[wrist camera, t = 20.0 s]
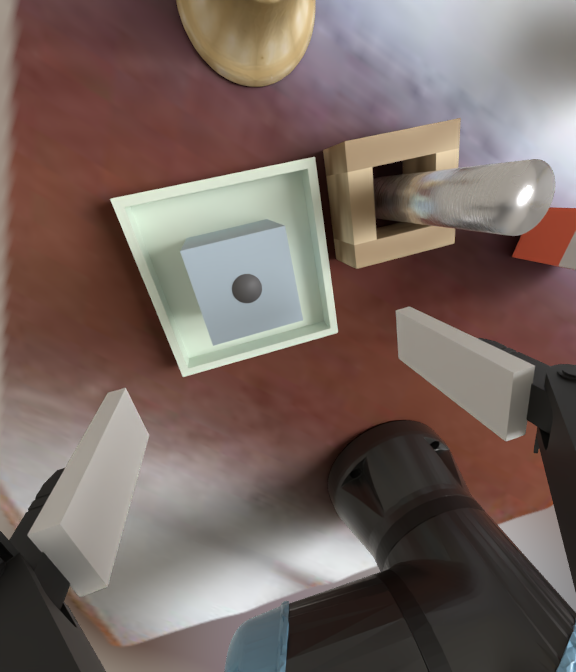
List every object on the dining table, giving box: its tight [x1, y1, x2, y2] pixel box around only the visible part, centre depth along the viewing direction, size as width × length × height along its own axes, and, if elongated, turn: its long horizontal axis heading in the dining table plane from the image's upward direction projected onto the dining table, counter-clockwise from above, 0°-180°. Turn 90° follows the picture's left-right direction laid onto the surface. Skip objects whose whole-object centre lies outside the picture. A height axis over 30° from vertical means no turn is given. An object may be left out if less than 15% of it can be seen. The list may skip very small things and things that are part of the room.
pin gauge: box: [373, 159, 555, 236], centre depth 19 cm, size 3×3×13 cm
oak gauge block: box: [323, 118, 460, 269], centre depth 23 cm, size 8×8×4 cm
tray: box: [110, 157, 338, 377], centre depth 24 cm, size 13×13×2 cm
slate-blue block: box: [180, 219, 303, 346], centre depth 21 cm, size 6×6×6 cm
